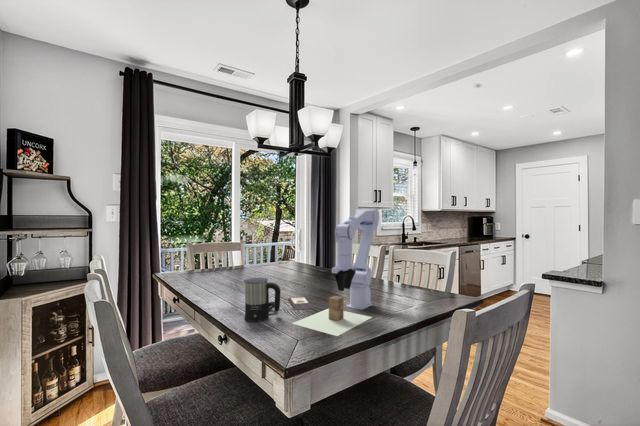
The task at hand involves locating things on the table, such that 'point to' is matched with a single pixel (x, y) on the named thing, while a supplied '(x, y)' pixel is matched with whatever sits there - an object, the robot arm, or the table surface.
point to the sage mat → (332, 322)
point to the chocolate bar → (301, 303)
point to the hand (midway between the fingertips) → (344, 289)
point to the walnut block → (336, 308)
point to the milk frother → (260, 299)
